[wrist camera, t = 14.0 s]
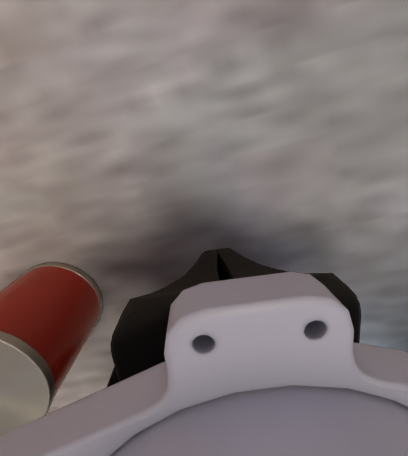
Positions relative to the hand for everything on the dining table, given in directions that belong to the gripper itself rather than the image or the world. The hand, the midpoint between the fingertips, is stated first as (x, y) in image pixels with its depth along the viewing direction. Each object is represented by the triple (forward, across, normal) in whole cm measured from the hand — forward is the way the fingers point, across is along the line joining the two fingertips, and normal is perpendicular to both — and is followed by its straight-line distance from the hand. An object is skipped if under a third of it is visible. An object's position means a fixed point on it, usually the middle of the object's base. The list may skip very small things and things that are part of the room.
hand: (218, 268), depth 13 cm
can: (+2, +10, +2) cm, 10 cm away
